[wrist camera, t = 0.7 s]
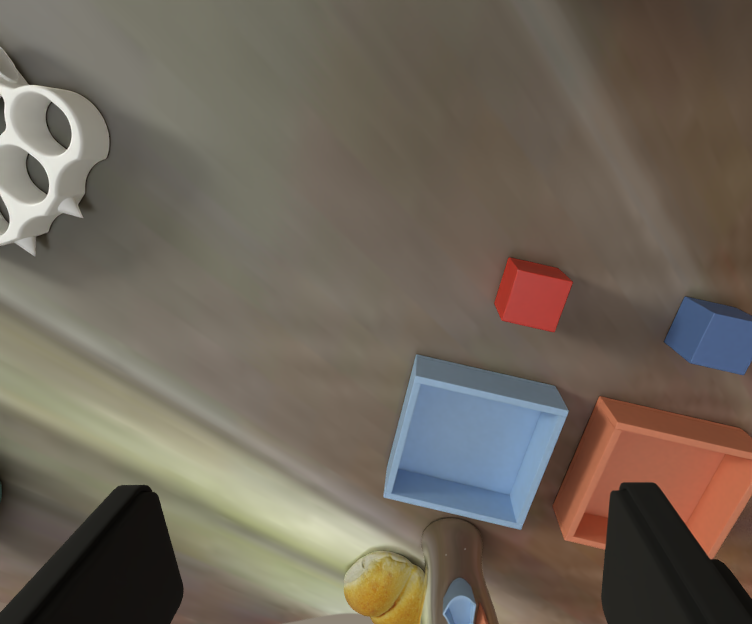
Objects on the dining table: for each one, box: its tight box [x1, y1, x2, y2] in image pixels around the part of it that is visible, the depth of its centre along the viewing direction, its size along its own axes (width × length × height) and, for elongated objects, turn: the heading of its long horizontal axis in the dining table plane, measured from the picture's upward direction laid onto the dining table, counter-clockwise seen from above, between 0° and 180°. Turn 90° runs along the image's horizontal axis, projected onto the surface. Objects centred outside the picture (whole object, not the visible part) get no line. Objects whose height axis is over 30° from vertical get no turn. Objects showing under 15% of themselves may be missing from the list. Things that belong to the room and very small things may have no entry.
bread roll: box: [344, 551, 425, 624], centre depth 47 cm, size 8×9×4 cm
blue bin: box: [384, 354, 569, 530], centre depth 40 cm, size 12×12×4 cm
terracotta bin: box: [553, 396, 752, 559], centre depth 40 cm, size 12×12×4 cm
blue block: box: [664, 297, 752, 375], centre depth 35 cm, size 4×4×4 cm
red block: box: [494, 257, 573, 332], centre depth 36 cm, size 4×4×4 cm
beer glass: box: [416, 518, 499, 624], centre depth 40 cm, size 7×7×15 cm
